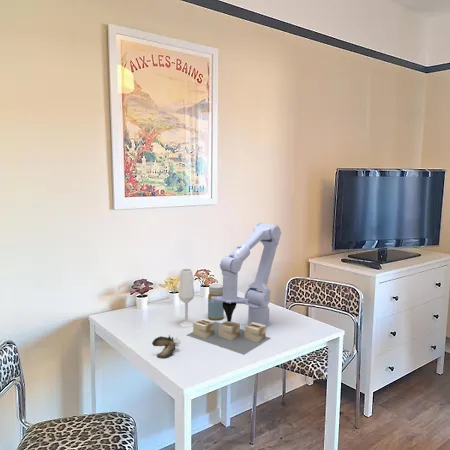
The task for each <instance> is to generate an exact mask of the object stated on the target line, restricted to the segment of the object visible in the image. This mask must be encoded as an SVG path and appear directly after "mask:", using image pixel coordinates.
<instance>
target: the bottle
mask: <svg viewBox="0 0 450 450" xmlns="http://www.w3.org/2000/svg"><path fill="white" fill-rule="evenodd" d="M212 296H223V284H219V283H213V284H209V286H208V295H207V318H208V320H209V321H222V320H223V319H224V318H225V316H224V312H225V311H224V308H223V306H222V305H223V303H220V302H214V303H211V297H212Z"/></svg>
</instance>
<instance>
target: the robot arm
mask: <svg viewBox="0 0 450 450" xmlns="http://www.w3.org/2000/svg"><path fill="white" fill-rule="evenodd" d="M281 235H282V231H281V228H280V226H279V225H277V224H269V223H264V222H263V223H262V222H258V223H257V224H256V225H255V226H254V227H253V232H252V233H251V235H249V237H248V238H247V240H246V241H245V242H244V243H243V244H242V243H240V244H238V245H237V246H236V248H235V249H234V250H233V251H232V252H231V253H229V255H228V256H224V257H223V258H222V259H221V261H220V264H219V268H220V270H221V275H222V285H223V296H212V297H211V303H214V302H220V303H223V305H222V306H223V308H224V312H225V316H226V321H228V322H231V321H232V317H233V313H234V311H235V309H236V308H237V305H239V304H240V305H245V306H248V317H247V322H246V323H245V324H244V325H243V326H244V327H245V326H246V325H248V324H250V323H252V322H255V323H259V324H262V325H266V327H268V326H269V325H272V323H271V322H270V307H269V304H270V302H271V301H270V300H271V292H272V291H271V289H270V288H269V287H268V285H267V284H268V281H269V278H270V274H271V270H272V266H273V263H274V258H275V257H276V253H277V252H276V251H277V247H278V245H279V242H280V239H281ZM259 242H260V243H261V244H262V245H263V250H262V253H261V255H260V257H261V258H260V261H259V264H258V268H257V272H256V275H255V279H254V282H252V283H250V284H248V288H247V290H246V291H245V293H244V297H239V296H238V279H239V278H238V275H239V274H238V273H239V272H240V271H241V268H242V266H243V263H244V261H245V260H246V259H247V258H249V256H250V255H251V250H252V249H253V248H254V247H255V246H256V245H257V244H258V243H259Z"/></svg>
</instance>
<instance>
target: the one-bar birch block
mask: <svg viewBox="0 0 450 450" xmlns="http://www.w3.org/2000/svg"><path fill="white" fill-rule="evenodd" d="M244 330H245V337H244V339H248V340H251V341H254V342H259V341H261V340H262V339H264V338H266V337H267V336H266V335H267V334H266V332H267V326H266V325H262V324H259V323H255V322H252V323H250V324H248V325H246V326H244Z"/></svg>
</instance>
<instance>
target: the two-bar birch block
mask: <svg viewBox="0 0 450 450" xmlns="http://www.w3.org/2000/svg"><path fill="white" fill-rule="evenodd" d="M214 322H215V321H213V320H210V319H206V318H201V319H199V320H196V321H194V322H192V323H193V325H192V326H193V327H192V332H193V335H195V336H198V337H201V338H204V339H205V338H207V337H209V336H211V335H213V334H214Z"/></svg>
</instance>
